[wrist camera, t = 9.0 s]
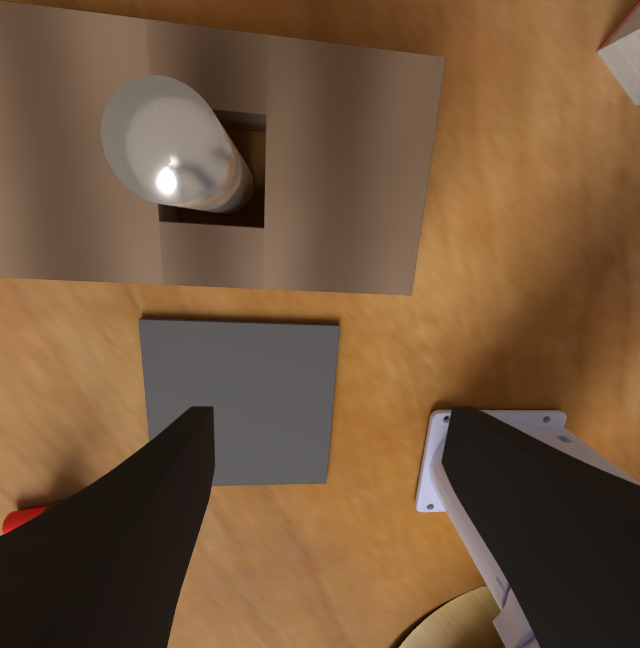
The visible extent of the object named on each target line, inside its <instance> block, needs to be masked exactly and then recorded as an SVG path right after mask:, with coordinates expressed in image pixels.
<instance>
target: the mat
mask: <svg viewBox="0 0 640 648" xmlns="http://www.w3.org/2000/svg"><path fill="white" fill-rule="evenodd" d="M339 327H340V326H339V324H319V323H288V322H258V321H228V320H198V319H167V318H140V319H139V330H140V341H141V352H142V364H143V375H144V386H145V397H146V408H147V420H148V431H149V442H150V441H151V440H152V439H153V438H155V437H156V436H157V435H158V434H159V433H161V432H162V431H163V430H164V429H165V428H167V427H168V426H169V425H170V424H171V423H172V422H174V421H175V420H176V419H177V418H178V417H179V416H180V415H182V414H183V413H184V412H185V411H186V410H188V409H189V408H190V407H191V406H214V441H215V470H214V476H213V481H212V486H229V485H277V484H326V481H327V469H328V457H329V446H330V434H331V422H332V410H333V398H334V387H335V375H336V363H337V351H338V339H339Z"/></svg>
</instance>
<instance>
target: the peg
mask: <svg viewBox="0 0 640 648" xmlns="http://www.w3.org/2000/svg"><path fill="white" fill-rule="evenodd" d="M101 139H102V145H103V149H104V152H105V156H106V158H107V160H108V163H109V165H110V166H111V168H112V170H113V171H114V173H115V174H116V176H117V177H118V178H119V179H120V181H121V182H122V183H123V184H124V185H125V186H126V187H128V188H129V189H130V190H131V191H132V192H134V193H135V194H137V195H138V196H140V197H142V198H144V199H146V200H149V201H152V202H155V203H159V204H165V205H171V206H177V207H184V208H190V209H196V210H202V211H208V212H215V213H221V214H230V213H234V212H237V211H239V210H240V209H242V208H243V207H244V206H245V205H246V204H247V203H248V201H249V200H250V198H251V195H252V192H253V178H252V174H251V171H250V169H249V167H248V166H247V164H246V162H245V161H244V159H243V158H242V156H241V155H240V153H239V152H238V150H237V148H236V147H235V145H234V144H233V142H232V141H231V139H230V138H229V136H228V134H227V133H226V131H225V130H224V128H223V127H222V125H221V124H220V122H219V120H218V119H217V117H216V116H215V114H214V113H213V111H212V109H211V108H210V106H209V105H208V104H207V102H206V101H205V100H204V99H203V98H202V97H201V96H200V95H199V94H198V93H197V92H196V91H195V90H193V89H192V88H191V87H189V86H188V85H186V84H184V83H183V82H181V81H178V80H176V79H173V78H170V77H167V76H160V75H147V76H141V77H138V78H135V79H132V80H130V81H128V82H126V83H125V84H123V85H122V86H121V87H120V88H119V89H117V90H116V91H115V92H114V94H113V95H112V96H111V98H110V99H109V101H108V103H107V105H106V107H105V110H104V113H103V117H102V122H101Z"/></svg>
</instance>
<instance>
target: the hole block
mask: <svg viewBox="0 0 640 648" xmlns="http://www.w3.org/2000/svg"><path fill="white" fill-rule="evenodd" d="M445 60H446V57H440V56H432V55H424V54H416V53H409V52H401V51H393V50H385V49H377V48H369V47H361V46H354V45H346V44H338V43H330V42H322V41H314V40H307V39H299V38H291V37H283V36H275V35H267V34H260V33H252V32H244V31H236V30H228V29H220V28H212V27H205V26H197V25H189V24H181V23H173V22H165V21H158V20H150V19H142V18H134V17H126V16H118V15H111V14H103V13H95V12H87V11H79V10H71V9H64V8H56V7H48V6H40V5H32V4H24V3H16V2H9V1H1V0H0V277H1V278H24V279H47V280H70V281H92V282H115V283H138V284H161V285H184V286H207V287H230V288H252V289H275V290H298V291H321V292H344V293H367V294H390V295H412V290H413V283H414V276H415V269H416V262H417V255H418V248H419V241H420V234H421V227H422V220H423V213H424V206H425V199H426V192H427V185H428V178H429V171H430V164H431V157H432V150H433V143H434V136H435V130H436V123H437V116H438V109H439V102H440V95H441V88H442V81H443V74H444V67H445ZM147 75H160V76H167V77H170V78H173V79H176V80H178V81H181V82H183V83H184V84H186V85H188V86H189V87H191V88H192V89H193V90H195V91H196V92H197V93H198V94H199V95H200V96H201V97H202V98H203V99H204V100H205V101H206V102H207V104H208V105H209V106H210V108H211V109H212V111H213V113H214V114H215V116H216V117H217V119H218V120H219V122H220V124H221V125H222V127H223V128H232V129H242V130H253V131H263V132H266V162H265V218H264V227H263V226H247V225H232V224H216V223H200V222H185V221H179V211H178V207H177V206H171V205H165V204H159V203H155V202H152V201H149V200H146V199H144V198H142V197H140V196H138V195H137V194H135V193H134V192H132V191H131V190H130V189H129V188H128V187H126V186H125V185H124V184H123V183H122V182H121V181H120V179H119V178H118V177H117V176H116V174H115V173H114V171H113V170H112V168H111V166H110V165H109V163H108V160H107V158H106V156H105V152H104V149H103V145H102V139H101V122H102V117H103V113H104V110H105V107H106V105H107V103H108V101H109V99H110V98H111V96H112V95H113V94H114V92H115V91H116V90H117V89H119V88H120V87H121V86H122V85H123V84H125V83H126V82H128V81H130V80H132V79H135V78H138V77H141V76H147Z"/></svg>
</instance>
